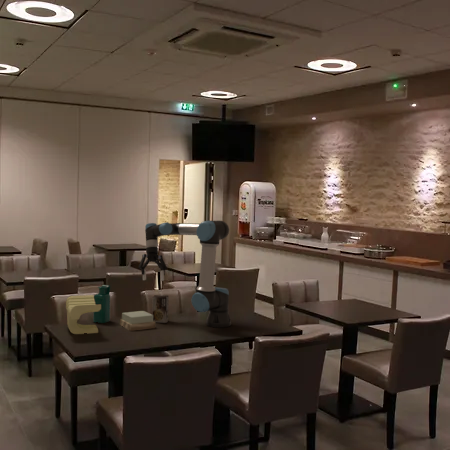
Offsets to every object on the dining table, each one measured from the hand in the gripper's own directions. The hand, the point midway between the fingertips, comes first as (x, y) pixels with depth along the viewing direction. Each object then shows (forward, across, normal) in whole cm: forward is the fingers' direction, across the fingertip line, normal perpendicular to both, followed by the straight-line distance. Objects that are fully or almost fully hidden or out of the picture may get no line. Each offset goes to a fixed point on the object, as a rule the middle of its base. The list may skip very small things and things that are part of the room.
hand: (153, 280), depth 345 cm
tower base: (+29, +14, +1) cm, 32 cm away
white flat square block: (+25, +14, +2) cm, 29 cm away
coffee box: (+26, -5, -2) cm, 26 cm away
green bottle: (+23, +25, -22) cm, 40 cm away
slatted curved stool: (+30, +45, -8) cm, 55 cm away
